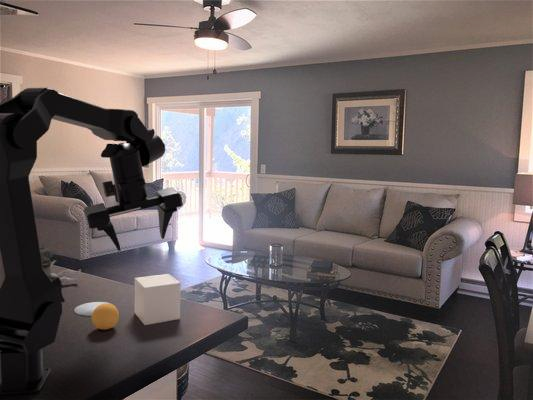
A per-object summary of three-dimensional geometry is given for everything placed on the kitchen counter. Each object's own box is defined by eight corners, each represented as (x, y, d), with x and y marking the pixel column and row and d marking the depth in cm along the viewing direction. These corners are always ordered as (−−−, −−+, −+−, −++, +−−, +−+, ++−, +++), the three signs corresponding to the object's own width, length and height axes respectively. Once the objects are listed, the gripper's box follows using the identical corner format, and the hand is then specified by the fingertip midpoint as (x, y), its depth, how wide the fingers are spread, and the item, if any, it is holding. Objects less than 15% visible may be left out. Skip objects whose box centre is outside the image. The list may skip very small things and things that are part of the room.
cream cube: (180, 318, 92) (180, 282, 91) (144, 325, 88) (144, 287, 87) (168, 307, 98) (168, 273, 97) (134, 313, 94) (134, 277, 93)
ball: (117, 333, 84) (116, 308, 83) (89, 334, 83) (89, 309, 82) (120, 323, 88) (120, 299, 88) (94, 324, 87) (94, 300, 87)
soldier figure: (77, 288, 110) (25, 279, 105) (73, 298, 112) (21, 290, 107) (82, 263, 115) (32, 254, 110) (78, 274, 118) (29, 265, 113)
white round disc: (110, 314, 93) (110, 313, 93) (70, 316, 91) (70, 315, 91) (115, 302, 100) (115, 301, 100) (78, 303, 99) (78, 302, 99)
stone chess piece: (46, 297, 102) (45, 247, 101) (24, 295, 103) (23, 245, 102) (63, 289, 108) (62, 242, 107) (42, 287, 109) (40, 240, 108)
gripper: (161, 156, 97) (171, 220, 102) (72, 173, 88) (88, 241, 94) (178, 168, 87) (188, 237, 93) (80, 188, 79) (98, 263, 85)
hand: (141, 244), depth 92 cm, fingers open, 9 cm apart
